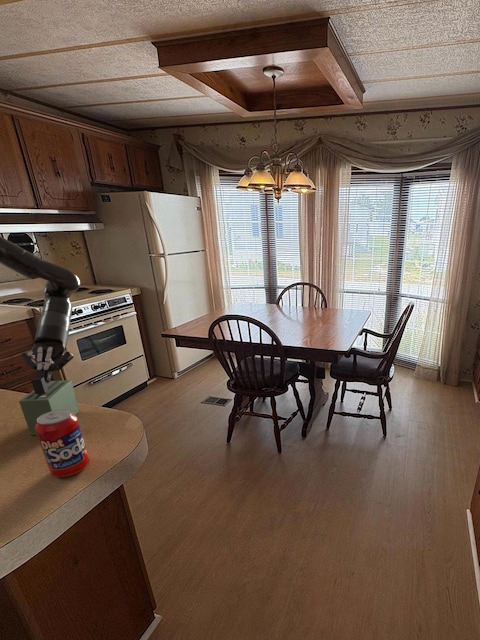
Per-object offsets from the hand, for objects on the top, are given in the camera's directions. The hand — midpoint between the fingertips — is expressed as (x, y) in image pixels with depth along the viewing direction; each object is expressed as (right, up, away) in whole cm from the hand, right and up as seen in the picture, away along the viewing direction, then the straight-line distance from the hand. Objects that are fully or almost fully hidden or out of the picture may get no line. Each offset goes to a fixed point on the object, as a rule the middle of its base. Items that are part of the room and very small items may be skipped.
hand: (42, 383), depth 96 cm
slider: (0, -3, 0) cm, 2 cm away
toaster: (-1, -12, +6) cm, 13 cm away
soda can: (+17, -21, -12) cm, 30 cm away
